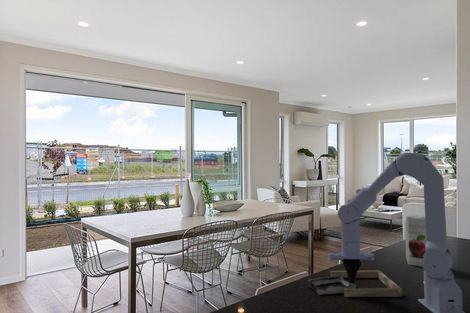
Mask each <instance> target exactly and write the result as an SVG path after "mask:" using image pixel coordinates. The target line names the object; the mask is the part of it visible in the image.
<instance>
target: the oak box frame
mask: <svg viewBox="0 0 470 313" xmlns="http://www.w3.org/2000/svg"><path fill="white" fill-rule="evenodd" d="M337 275H340V277H342V278H343V279H348V275H347V271H346V270H330V277H331V276H337ZM355 279H378V280H379V281H380V282H382V283H383V285H385V286H386V287H356V288H344V293H343V296H344V297H345V298H370V297H371V298H377V297H380V298H382V297H383V298H385V297H386V298H389V297H390V298H392V297H393V298H394V297H395V298H396V297H397V298H398V297H403V295H404V294H403V288H402V287H400V285H398V284H396V282H394V281H393V280H392V279H391V278H389V277H388V276H387V275H385V274H384V273H383V271H380V269H378V270H376V269H375V270H372V269H371V270H370V269H369V270H366V269H365V270H358V271H357V274H356V277H355Z"/></svg>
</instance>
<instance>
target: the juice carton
mask: <svg viewBox="0 0 470 313" xmlns="http://www.w3.org/2000/svg"><path fill="white" fill-rule="evenodd" d="M404 227H405V229H404V231H405V232H404V233H405V256H406V257H405V259H406V262H407V265H409V266H414V267H415V266H416V267H422V260H423V258H424V256H425V247H426V241H427V239H426V221H425V215H417V214H408V215H407V216H406V217H405V222H404ZM422 268H423V267H422Z"/></svg>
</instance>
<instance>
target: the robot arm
mask: <svg viewBox="0 0 470 313" xmlns="http://www.w3.org/2000/svg"><path fill="white" fill-rule="evenodd" d="M403 176H408V177H411V178H414V180H416V181H417V182H419V183H420V184H422V186H423V198H424V200H423V201H424V216H425V221H426V239H427V241H426V247H425V256H424V258H423V260H422V270H423V289H424V291H423V292H424V293H423V294H424V298H418V300H417V301H418V303H420V304H422V305H423V306H424V307H425V308H426V309H427V310H429V311H430V312H431V313H466V312H465V311H463V310H464V308H463V307H464V306H463V290H462V288H461V287H460V286H459V285H458V284H457V283H456V280H455V275H454V273H453V271H452V270H451V268H452V267H453V266H454V264H455V259H454V256H453V254H452V252H451V251H450V250H451V249H450V245H449V242H448V238H447V236H448V235H447V222H446V202H445V188H444V187H445V186H444V185H445V184H444V177H443V175H442V174H441V173H440V171H439V170H438V169H437V168H436V166H435V164H433V163H432V160H431V159H430V158H429V157H427V156H425V155H424V154H422V153H419V152H413V153H412V152H403V153H402V154H400V155H398V157H397V158H396V159H394V160H393V161H391V162H390V164H389V165H387V167H386V168H385V169H383V171H382V172H381V173H380V174H379V175H378V177H377V178H376V179H374V181H373V182H372V183H370V185H369V186H368V187H361V188H358V189H357V190H356V191H355V193H356V194H354V196H353V197H352V198H351V199H347V201H346V204H343V205H341V206H339V209H338V211H337V216H338V219H339V220H340V224H341V226H340V233H341V236H340V237H341V239H340V240H341V251H340V252H332V253H330V252H329V253H327V258H328V261H329V262H333V261H341V262H342V265H343V266H344V269H345V271H347V275H348V278H347V279H348V282H349V284H356V283H355V282H356V278H355V277H356V274H357V271H359V269H360V267H361V266H362V262H361V261H375V254H374V253H373V252H362V251H361V245H360V244H361V243H360V242H361V241H360V235H361V234H360V220H361V218H362V216H363V214H364V213H365V212H366V211H367V210H368V209H369V208H370V207H371V206H372V205H374V203H376V201H377V200H378V199H377V196H378V194H379V193H380V192H381V191H383V189H385V188H386V187H387V186H388V185H389V184H390V183H391V182H392V181H393V180H395V179H396V178H399V177H403Z"/></svg>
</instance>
